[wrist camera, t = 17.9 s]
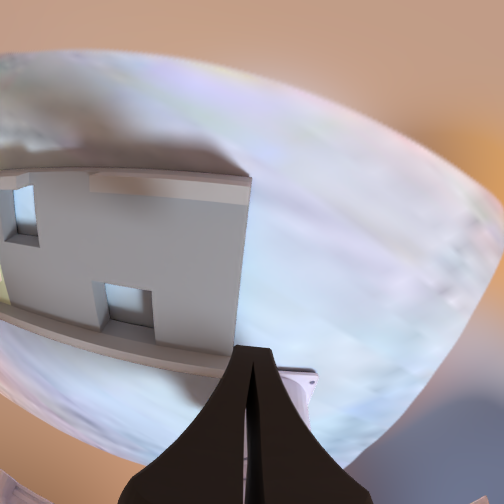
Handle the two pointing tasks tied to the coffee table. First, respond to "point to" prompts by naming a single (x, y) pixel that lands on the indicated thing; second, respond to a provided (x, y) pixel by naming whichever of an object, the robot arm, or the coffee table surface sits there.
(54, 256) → the board
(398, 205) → the coffee table surface
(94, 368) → the coffee table surface
